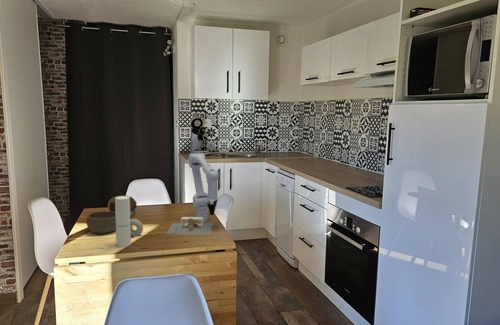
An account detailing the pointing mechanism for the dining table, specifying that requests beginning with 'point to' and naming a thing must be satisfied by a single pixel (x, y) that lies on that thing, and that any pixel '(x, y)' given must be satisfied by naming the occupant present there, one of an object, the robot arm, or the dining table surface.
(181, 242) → the dining table surface
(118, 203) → the cylindrical container
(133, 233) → the donut
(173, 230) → the metal bar
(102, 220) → the bowl
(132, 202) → the clay pot
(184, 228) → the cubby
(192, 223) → the rake
